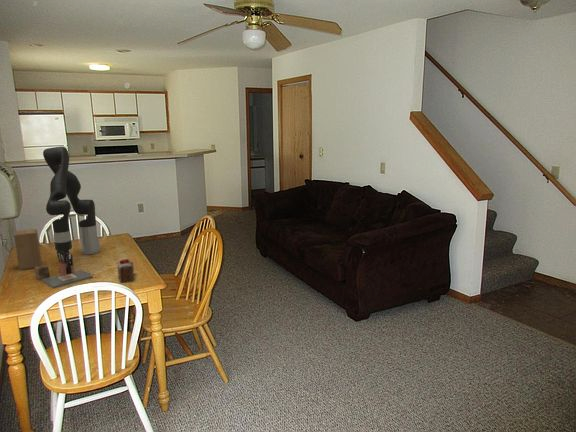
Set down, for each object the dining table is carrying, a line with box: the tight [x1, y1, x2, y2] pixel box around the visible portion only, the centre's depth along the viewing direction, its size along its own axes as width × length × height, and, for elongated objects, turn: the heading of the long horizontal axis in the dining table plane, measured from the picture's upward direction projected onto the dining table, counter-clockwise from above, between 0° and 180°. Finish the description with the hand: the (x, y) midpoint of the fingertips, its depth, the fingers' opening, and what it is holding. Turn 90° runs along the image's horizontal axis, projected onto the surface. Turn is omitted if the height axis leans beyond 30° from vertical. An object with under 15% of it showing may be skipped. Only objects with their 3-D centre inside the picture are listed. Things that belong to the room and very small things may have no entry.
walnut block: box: [33, 264, 51, 281], centre depth 212 cm, size 5×5×6 cm
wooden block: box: [13, 228, 42, 271], centre depth 229 cm, size 10×10×20 cm
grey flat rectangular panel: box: [41, 269, 94, 289], centre depth 210 cm, size 19×15×1 cm
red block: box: [57, 260, 76, 276], centre depth 209 cm, size 6×6×6 cm
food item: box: [117, 258, 135, 283], centre depth 211 cm, size 14×8×10 cm, turn 27°
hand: (66, 272), depth 209 cm, fingers closed on red block, 5 cm apart
